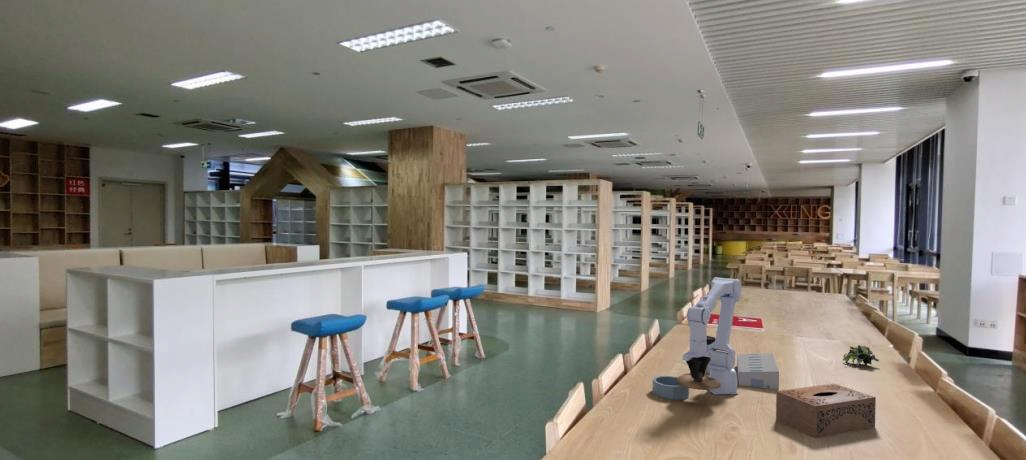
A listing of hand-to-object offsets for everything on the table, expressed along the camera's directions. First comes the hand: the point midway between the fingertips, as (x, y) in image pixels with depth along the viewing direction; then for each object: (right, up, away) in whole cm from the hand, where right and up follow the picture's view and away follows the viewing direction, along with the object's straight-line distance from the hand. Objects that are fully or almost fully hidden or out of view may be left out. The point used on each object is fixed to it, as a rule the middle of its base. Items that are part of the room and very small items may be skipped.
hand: (697, 377), depth 181 cm
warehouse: (+37, -10, +32) cm, 50 cm away
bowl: (-6, -9, +10) cm, 15 cm away
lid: (0, -2, 0) cm, 2 cm away
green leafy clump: (+94, -10, +50) cm, 107 cm away
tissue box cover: (+35, -10, -18) cm, 41 cm away
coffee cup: (+18, -9, +39) cm, 44 cm away
